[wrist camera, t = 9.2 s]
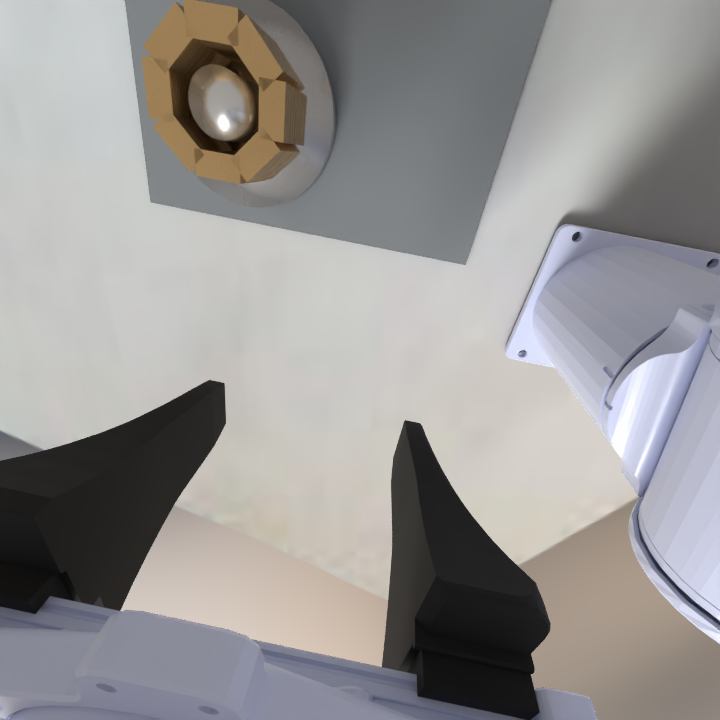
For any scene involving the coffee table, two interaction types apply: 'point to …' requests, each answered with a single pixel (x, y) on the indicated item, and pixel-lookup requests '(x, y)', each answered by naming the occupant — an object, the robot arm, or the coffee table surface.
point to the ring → (221, 46)
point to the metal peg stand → (241, 108)
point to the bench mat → (384, 119)
